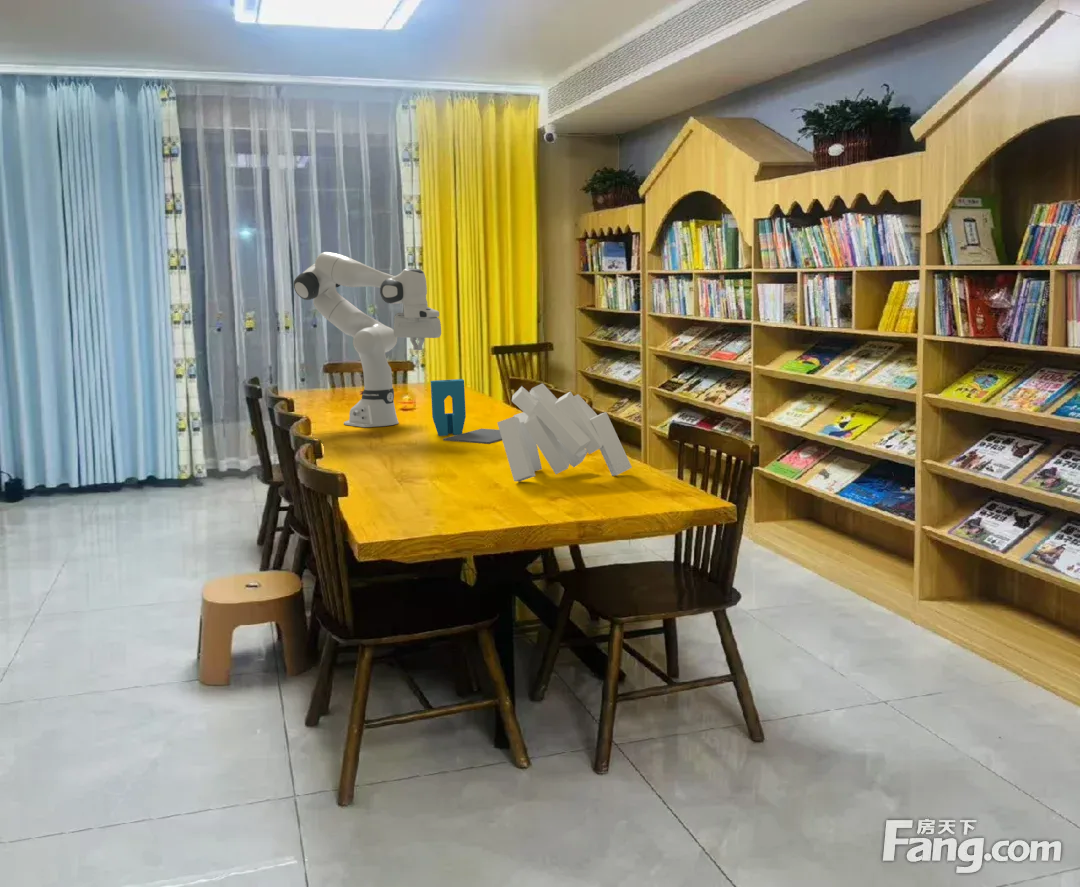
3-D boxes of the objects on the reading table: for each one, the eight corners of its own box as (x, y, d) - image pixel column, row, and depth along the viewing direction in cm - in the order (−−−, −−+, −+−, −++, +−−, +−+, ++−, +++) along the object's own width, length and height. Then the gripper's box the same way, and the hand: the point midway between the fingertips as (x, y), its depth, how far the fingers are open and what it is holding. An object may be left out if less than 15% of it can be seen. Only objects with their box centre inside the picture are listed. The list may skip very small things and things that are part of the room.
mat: (443, 440, 374) (443, 438, 374) (481, 430, 394) (481, 428, 394) (489, 443, 364) (489, 442, 363) (526, 433, 384) (526, 431, 383)
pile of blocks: (614, 480, 322) (565, 379, 326) (649, 458, 294) (596, 348, 298) (515, 525, 310) (466, 419, 314) (542, 506, 282) (488, 391, 286)
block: (464, 432, 391) (462, 379, 387) (466, 434, 386) (464, 380, 383) (433, 434, 388) (430, 380, 385) (434, 436, 384) (431, 382, 380)
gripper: (388, 313, 389) (390, 350, 392) (432, 312, 379) (434, 351, 381) (399, 312, 395) (401, 348, 397) (442, 312, 384) (444, 349, 386)
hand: (417, 349), depth 389 cm, fingers closed
